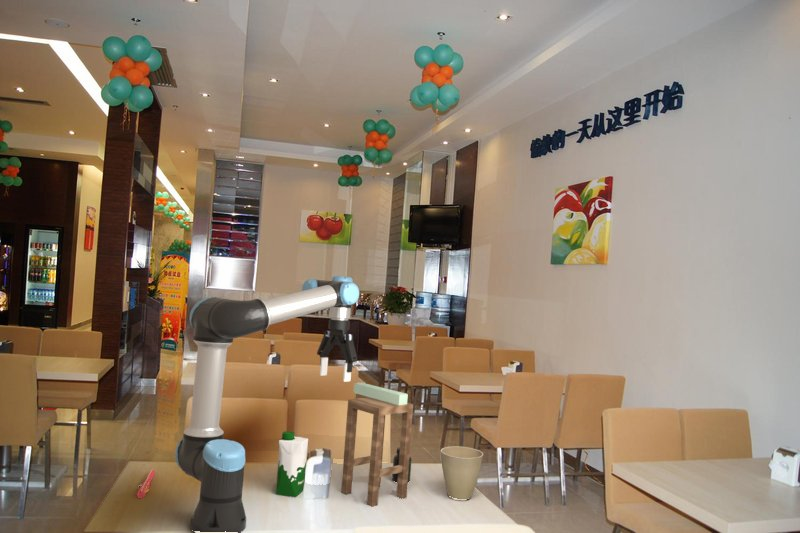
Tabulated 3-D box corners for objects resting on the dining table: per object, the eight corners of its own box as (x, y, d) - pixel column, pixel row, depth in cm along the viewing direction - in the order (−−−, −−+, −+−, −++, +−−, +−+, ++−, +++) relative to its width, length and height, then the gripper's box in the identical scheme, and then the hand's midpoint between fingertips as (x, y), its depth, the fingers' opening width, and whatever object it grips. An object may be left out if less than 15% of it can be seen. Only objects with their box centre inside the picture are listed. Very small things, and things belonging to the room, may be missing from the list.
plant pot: (447, 487, 223) (450, 443, 224) (485, 496, 217) (488, 451, 217) (430, 498, 210) (434, 452, 211) (471, 508, 203) (474, 460, 204)
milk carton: (282, 487, 211) (286, 429, 212) (307, 490, 209) (311, 432, 210) (272, 495, 202) (276, 434, 203) (297, 498, 201) (302, 437, 201)
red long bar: (132, 501, 191) (147, 496, 192) (130, 495, 191) (146, 490, 192) (145, 477, 214) (159, 473, 215) (143, 471, 214) (157, 467, 215)
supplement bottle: (413, 481, 228) (415, 448, 229) (403, 485, 222) (406, 452, 223) (398, 476, 232) (400, 445, 232) (388, 480, 226) (390, 448, 227)
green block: (407, 404, 210) (407, 394, 210) (398, 405, 207) (399, 394, 207) (361, 392, 227) (362, 382, 227) (353, 392, 224) (354, 383, 224)
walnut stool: (371, 506, 198) (379, 408, 199) (341, 492, 210) (348, 399, 211) (406, 497, 209) (413, 404, 211) (375, 484, 221) (382, 396, 222)
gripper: (370, 322, 213) (365, 383, 212) (326, 316, 231) (322, 372, 230) (353, 322, 207) (348, 384, 207) (310, 316, 225) (305, 373, 224)
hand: (334, 378), depth 218 cm, fingers open, 13 cm apart
